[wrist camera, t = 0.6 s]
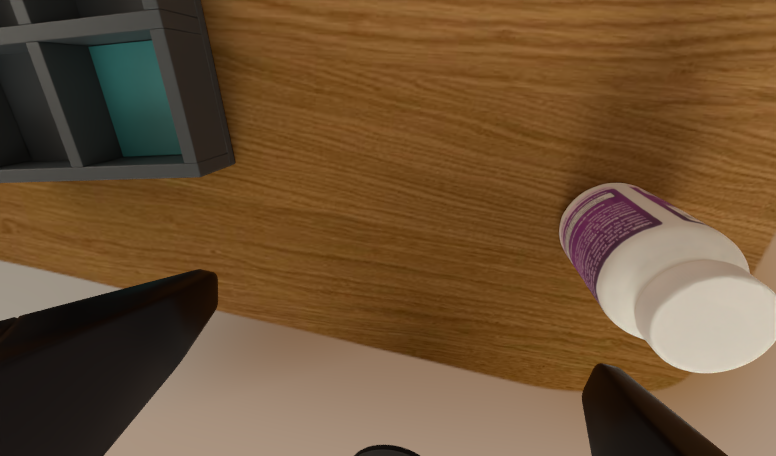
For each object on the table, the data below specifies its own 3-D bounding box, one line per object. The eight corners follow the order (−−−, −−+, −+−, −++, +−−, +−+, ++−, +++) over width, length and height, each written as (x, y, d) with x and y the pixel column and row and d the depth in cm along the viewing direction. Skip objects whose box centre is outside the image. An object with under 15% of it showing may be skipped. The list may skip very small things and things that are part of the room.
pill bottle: (559, 272, 23) (626, 394, 14) (553, 189, 21) (625, 269, 12) (658, 261, 22) (799, 386, 13) (661, 172, 20) (826, 247, 11)
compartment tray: (235, 163, 24) (200, 177, 20) (36, 170, 26) (-23, 183, 23) (169, -150, 18) (106, -200, 15) (-75, -101, 21) (-173, -135, 18)
